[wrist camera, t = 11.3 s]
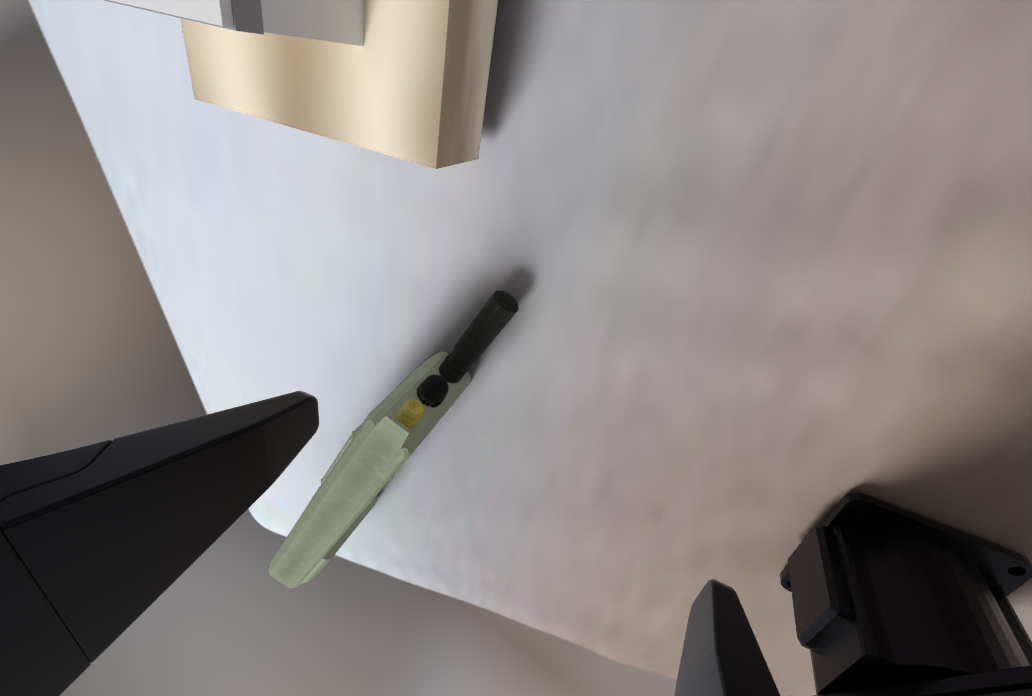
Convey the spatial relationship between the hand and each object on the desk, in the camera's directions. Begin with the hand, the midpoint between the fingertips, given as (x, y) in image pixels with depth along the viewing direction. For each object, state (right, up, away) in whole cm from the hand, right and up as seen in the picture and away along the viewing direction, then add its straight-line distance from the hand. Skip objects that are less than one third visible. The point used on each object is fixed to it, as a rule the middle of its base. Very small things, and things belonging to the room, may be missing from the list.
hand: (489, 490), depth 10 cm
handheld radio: (-6, -2, +19) cm, 20 cm away
